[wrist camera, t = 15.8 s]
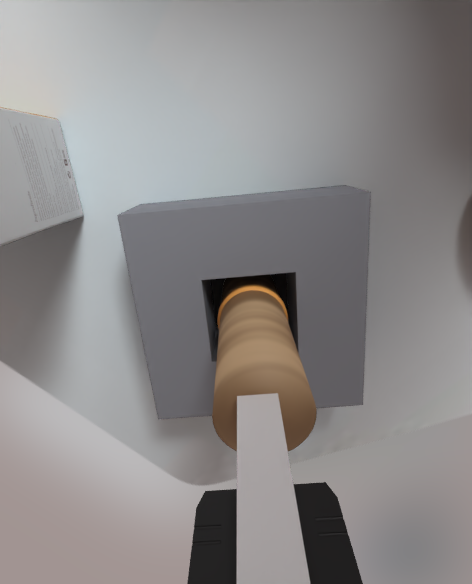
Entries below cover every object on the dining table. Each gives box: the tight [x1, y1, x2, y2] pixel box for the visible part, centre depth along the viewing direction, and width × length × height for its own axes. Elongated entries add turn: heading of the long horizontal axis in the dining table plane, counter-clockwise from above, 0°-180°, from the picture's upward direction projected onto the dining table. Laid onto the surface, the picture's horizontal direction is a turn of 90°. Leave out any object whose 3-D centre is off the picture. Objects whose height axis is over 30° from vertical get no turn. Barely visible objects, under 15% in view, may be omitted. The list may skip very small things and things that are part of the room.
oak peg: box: [212, 274, 316, 451], centre depth 21 cm, size 4×4×14 cm
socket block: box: [117, 185, 371, 419], centre depth 25 cm, size 14×14×5 cm
